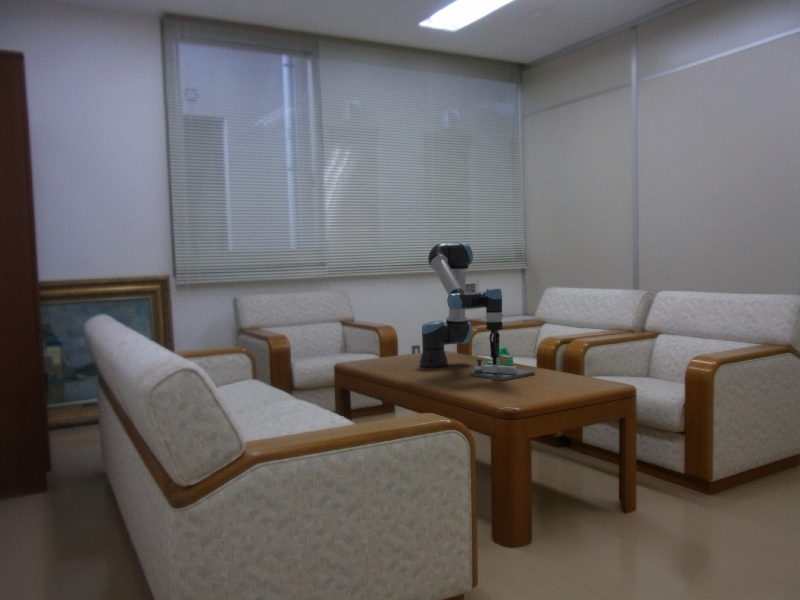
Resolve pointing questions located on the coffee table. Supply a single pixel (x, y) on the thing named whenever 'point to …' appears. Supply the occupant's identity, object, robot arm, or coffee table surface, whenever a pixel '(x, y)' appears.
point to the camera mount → (503, 352)
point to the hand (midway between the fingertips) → (495, 371)
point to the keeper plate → (500, 375)
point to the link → (488, 369)
